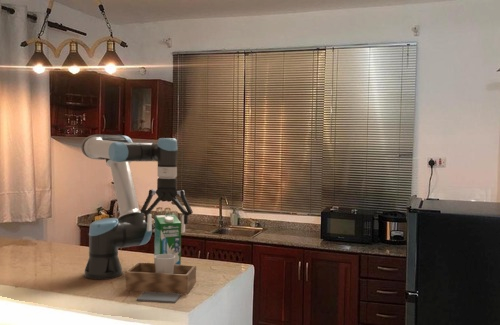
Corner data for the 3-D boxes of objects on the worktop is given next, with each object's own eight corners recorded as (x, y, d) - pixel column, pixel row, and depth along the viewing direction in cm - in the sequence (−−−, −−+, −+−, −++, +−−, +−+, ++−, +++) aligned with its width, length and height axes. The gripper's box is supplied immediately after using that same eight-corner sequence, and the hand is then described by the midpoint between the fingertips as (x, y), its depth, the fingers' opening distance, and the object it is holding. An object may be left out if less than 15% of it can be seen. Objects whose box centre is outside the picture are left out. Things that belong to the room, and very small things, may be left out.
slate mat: (136, 300, 158) (136, 299, 158) (144, 293, 166) (144, 291, 165) (174, 302, 156) (174, 301, 156) (180, 295, 164) (180, 293, 164)
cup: (155, 283, 178) (155, 253, 177) (175, 283, 178) (176, 253, 178) (152, 289, 170) (153, 258, 169) (173, 289, 170) (174, 258, 170)
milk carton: (159, 277, 185) (160, 218, 184) (154, 272, 193) (154, 215, 192) (180, 275, 189) (181, 217, 188) (174, 269, 197) (174, 214, 196)
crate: (125, 290, 168) (125, 272, 168) (138, 279, 182) (139, 262, 182) (187, 293, 166) (187, 275, 166) (195, 282, 180) (196, 265, 179)
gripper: (132, 177, 170) (132, 232, 171) (196, 179, 168) (195, 234, 169) (139, 176, 178) (138, 228, 178) (200, 177, 175) (199, 230, 176)
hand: (166, 231), depth 174 cm, fingers open, 13 cm apart
